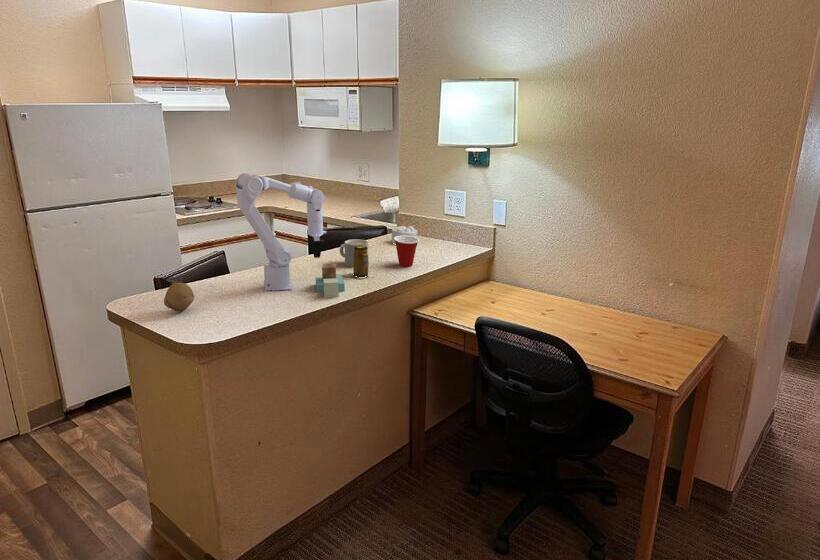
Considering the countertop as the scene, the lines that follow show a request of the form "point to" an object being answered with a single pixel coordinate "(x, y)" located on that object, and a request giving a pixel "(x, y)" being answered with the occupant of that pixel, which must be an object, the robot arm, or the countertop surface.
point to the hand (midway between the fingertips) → (316, 254)
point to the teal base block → (321, 287)
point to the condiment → (360, 262)
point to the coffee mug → (351, 250)
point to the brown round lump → (179, 297)
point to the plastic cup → (406, 249)
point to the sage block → (331, 287)
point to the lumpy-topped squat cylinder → (403, 232)
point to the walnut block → (328, 271)
